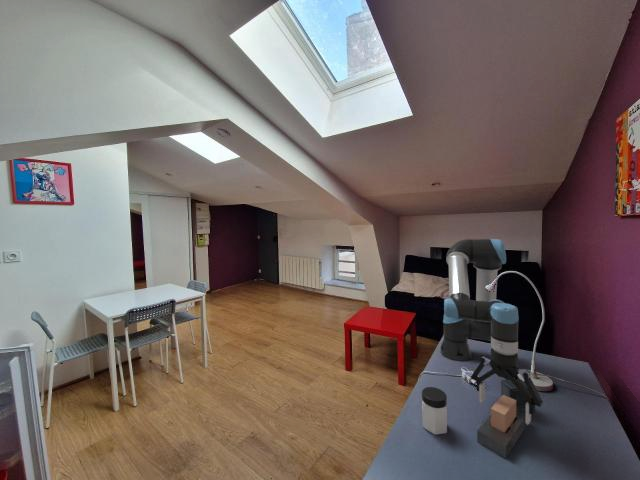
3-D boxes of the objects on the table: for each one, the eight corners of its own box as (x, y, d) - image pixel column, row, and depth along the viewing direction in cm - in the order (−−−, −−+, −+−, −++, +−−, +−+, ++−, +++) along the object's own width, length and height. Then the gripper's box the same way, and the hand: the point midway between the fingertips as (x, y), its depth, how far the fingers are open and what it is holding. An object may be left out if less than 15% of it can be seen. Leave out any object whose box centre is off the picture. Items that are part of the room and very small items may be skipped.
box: (520, 404, 104) (520, 378, 104) (532, 414, 99) (532, 387, 98) (500, 405, 105) (500, 379, 104) (510, 415, 99) (510, 388, 98)
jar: (422, 414, 101) (421, 384, 100) (446, 419, 98) (445, 388, 97) (422, 432, 93) (421, 399, 92) (447, 438, 90) (447, 404, 89)
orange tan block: (502, 421, 96) (503, 394, 96) (516, 427, 93) (516, 400, 92) (490, 436, 89) (490, 408, 89) (504, 444, 86) (504, 414, 86)
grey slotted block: (502, 411, 101) (502, 401, 101) (527, 423, 95) (528, 412, 94) (477, 442, 88) (477, 430, 87) (505, 458, 81) (505, 446, 81)
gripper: (460, 341, 97) (460, 397, 98) (549, 369, 77) (547, 439, 79) (469, 335, 102) (469, 389, 103) (555, 360, 82) (554, 426, 83)
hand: (503, 410), depth 91 cm, fingers open, 13 cm apart
